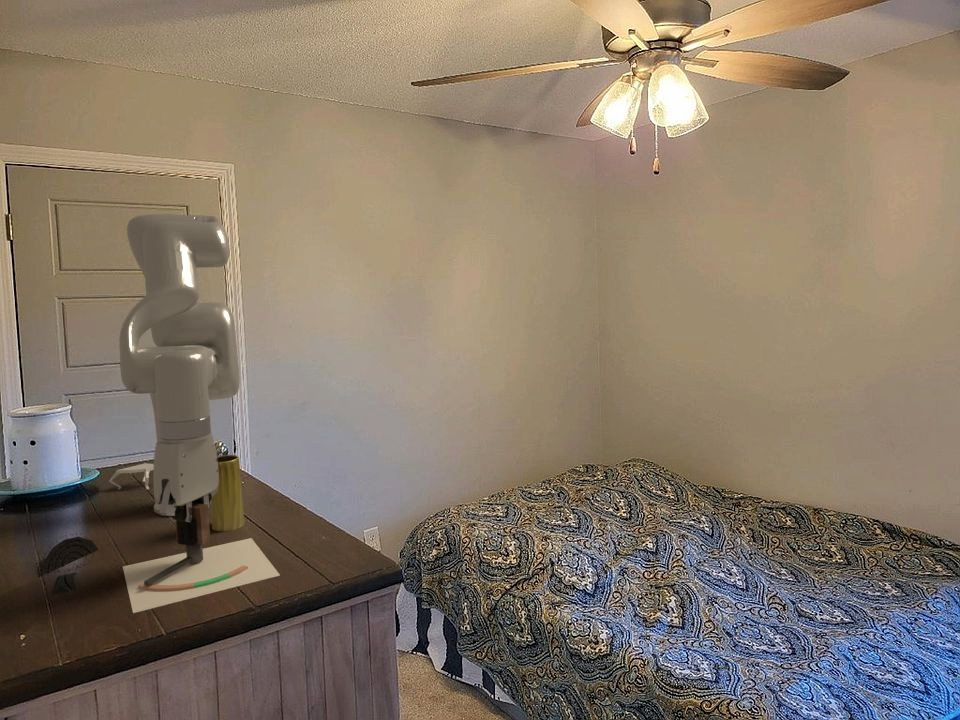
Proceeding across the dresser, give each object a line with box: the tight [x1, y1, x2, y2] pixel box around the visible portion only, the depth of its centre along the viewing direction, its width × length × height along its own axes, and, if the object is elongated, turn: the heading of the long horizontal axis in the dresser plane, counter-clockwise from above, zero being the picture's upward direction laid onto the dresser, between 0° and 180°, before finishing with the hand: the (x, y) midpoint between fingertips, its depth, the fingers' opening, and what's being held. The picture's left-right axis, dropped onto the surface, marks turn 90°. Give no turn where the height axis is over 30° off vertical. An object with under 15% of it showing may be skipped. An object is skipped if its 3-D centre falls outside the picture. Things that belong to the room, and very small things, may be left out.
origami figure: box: [108, 462, 154, 491], centre depth 151 cm, size 12×8×5 cm
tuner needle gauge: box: [144, 503, 211, 586], centre depth 100 cm, size 11×5×9 cm, turn 163°
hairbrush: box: [41, 532, 99, 596], centre depth 103 cm, size 8×4×25 cm
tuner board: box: [122, 537, 281, 614], centre depth 102 cm, size 18×20×2 cm
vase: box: [210, 454, 245, 532], centre depth 120 cm, size 6×6×14 cm
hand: (193, 540), depth 105 cm, fingers closed on tuner needle gauge, 2 cm apart
